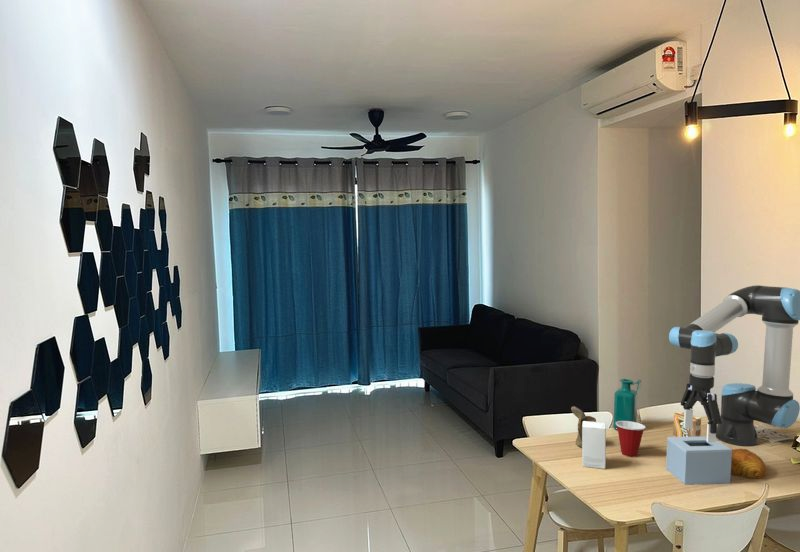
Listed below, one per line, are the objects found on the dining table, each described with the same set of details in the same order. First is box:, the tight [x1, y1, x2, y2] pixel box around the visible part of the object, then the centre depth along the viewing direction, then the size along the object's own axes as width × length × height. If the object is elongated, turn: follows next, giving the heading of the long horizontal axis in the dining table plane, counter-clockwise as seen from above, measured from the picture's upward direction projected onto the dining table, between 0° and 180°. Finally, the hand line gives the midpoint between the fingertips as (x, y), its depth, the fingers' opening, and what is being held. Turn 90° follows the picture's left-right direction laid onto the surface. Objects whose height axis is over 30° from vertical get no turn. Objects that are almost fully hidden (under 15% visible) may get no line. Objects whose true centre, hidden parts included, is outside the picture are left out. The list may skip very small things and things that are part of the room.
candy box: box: [672, 411, 702, 437], centre depth 211 cm, size 9×4×15 cm, turn 33°
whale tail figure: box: [570, 405, 597, 449], centre depth 218 cm, size 9×14×18 cm, turn 125°
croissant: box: [731, 448, 768, 479], centre depth 197 cm, size 14×16×8 cm
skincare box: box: [581, 421, 607, 470], centre depth 201 cm, size 8×7×16 cm
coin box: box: [665, 435, 732, 485], centre depth 192 cm, size 16×12×12 cm
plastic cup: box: [616, 421, 646, 458], centre depth 211 cm, size 11×11×12 cm
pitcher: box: [612, 378, 642, 431], centre depth 237 cm, size 10×8×22 cm
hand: (699, 434), depth 191 cm, fingers open, 13 cm apart
